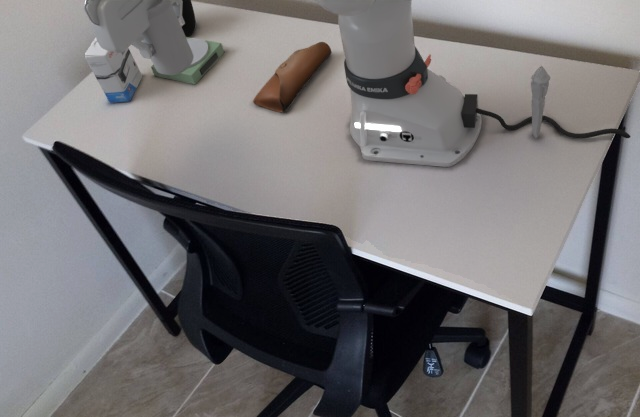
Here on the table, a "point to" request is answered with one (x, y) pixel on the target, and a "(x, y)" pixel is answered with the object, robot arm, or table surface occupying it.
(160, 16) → the beverage can
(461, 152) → the robot arm
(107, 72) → the ink box
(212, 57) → the scale
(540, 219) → the table surface
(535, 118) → the pen
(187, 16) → the mug
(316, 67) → the sunglasses case
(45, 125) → the table surface
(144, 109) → the table surface
